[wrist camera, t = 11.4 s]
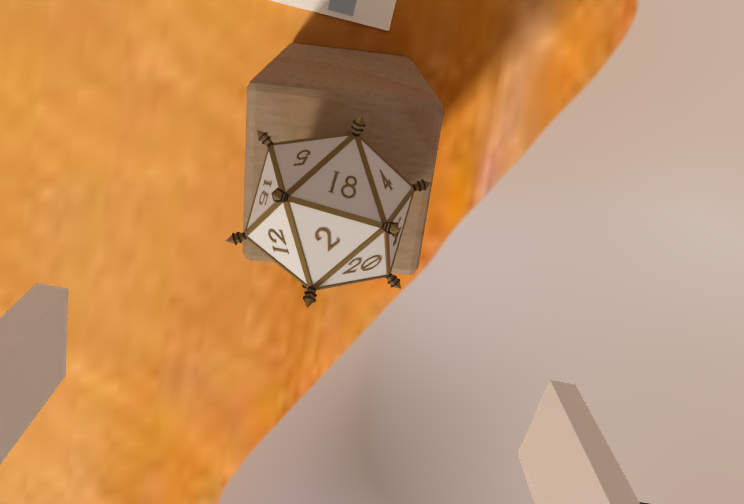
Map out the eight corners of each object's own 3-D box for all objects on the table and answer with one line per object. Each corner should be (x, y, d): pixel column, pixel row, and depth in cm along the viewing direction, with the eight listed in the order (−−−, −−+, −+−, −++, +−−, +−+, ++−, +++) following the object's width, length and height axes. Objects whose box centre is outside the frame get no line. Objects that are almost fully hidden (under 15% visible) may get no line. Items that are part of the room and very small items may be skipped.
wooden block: (288, 41, 47) (245, 79, 29) (412, 56, 48) (447, 102, 30) (281, 162, 51) (240, 262, 33) (396, 174, 52) (417, 278, 34)
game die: (363, 145, 34) (497, 160, 27) (323, 286, 35) (444, 341, 27) (223, 88, 28) (342, 87, 21) (176, 258, 29) (277, 318, 21)
